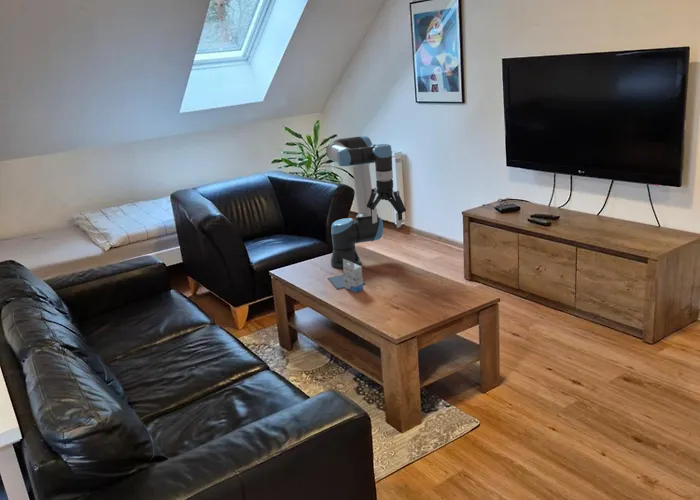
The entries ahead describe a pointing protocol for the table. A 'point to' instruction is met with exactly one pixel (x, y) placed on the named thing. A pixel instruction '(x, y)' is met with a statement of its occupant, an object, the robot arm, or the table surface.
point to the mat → (338, 281)
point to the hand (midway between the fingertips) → (386, 224)
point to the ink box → (352, 276)
